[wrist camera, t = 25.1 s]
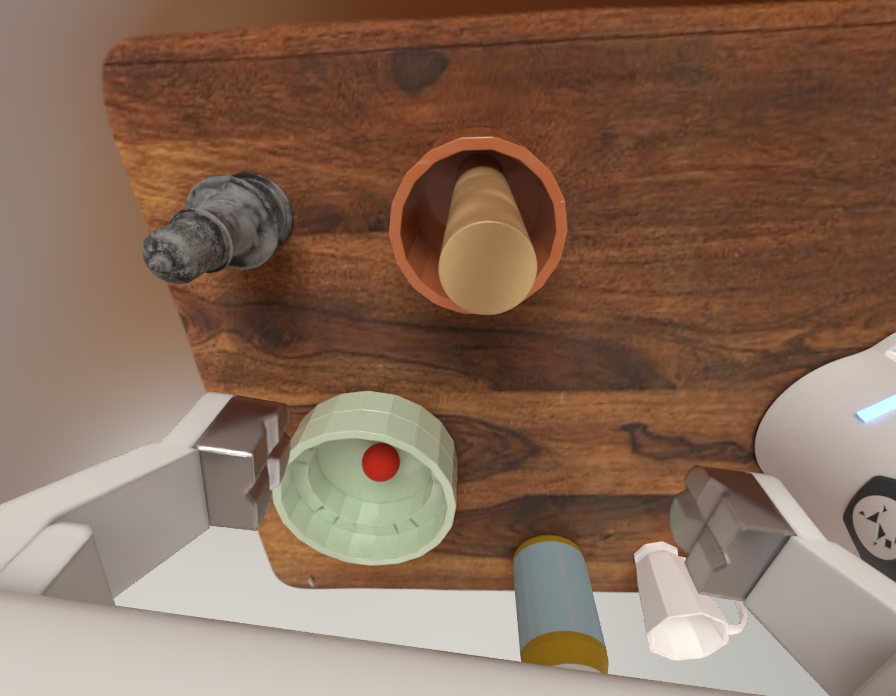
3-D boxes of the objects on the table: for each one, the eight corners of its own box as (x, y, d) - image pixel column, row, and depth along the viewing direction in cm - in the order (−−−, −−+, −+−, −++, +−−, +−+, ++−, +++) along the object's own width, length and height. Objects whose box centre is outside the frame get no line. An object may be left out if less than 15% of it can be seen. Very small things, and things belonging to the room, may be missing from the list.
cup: (630, 528, 45) (659, 608, 38) (733, 539, 45) (782, 621, 38) (611, 575, 49) (635, 657, 42) (707, 585, 49) (747, 669, 42)
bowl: (469, 399, 39) (469, 447, 34) (445, 520, 46) (441, 575, 41) (296, 374, 39) (268, 418, 34) (297, 499, 46) (274, 552, 40)
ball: (388, 485, 41) (403, 451, 42) (391, 490, 38) (408, 453, 39) (354, 470, 41) (370, 436, 41) (355, 474, 38) (373, 437, 38)
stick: (506, 155, 29) (545, 226, 14) (500, 204, 31) (528, 320, 15) (458, 150, 29) (442, 216, 14) (454, 199, 31) (434, 310, 15)
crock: (561, 138, 30) (589, 152, 23) (528, 278, 34) (542, 326, 27) (416, 114, 29) (398, 121, 22) (401, 258, 34) (382, 301, 27)
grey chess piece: (270, 154, 31) (165, 185, 20) (311, 238, 33) (237, 305, 23) (195, 184, 32) (58, 229, 21) (240, 264, 35) (138, 339, 24)
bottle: (518, 526, 46) (537, 701, 33) (589, 534, 46) (637, 712, 33) (506, 573, 49) (519, 748, 36) (573, 580, 49) (610, 758, 36)
